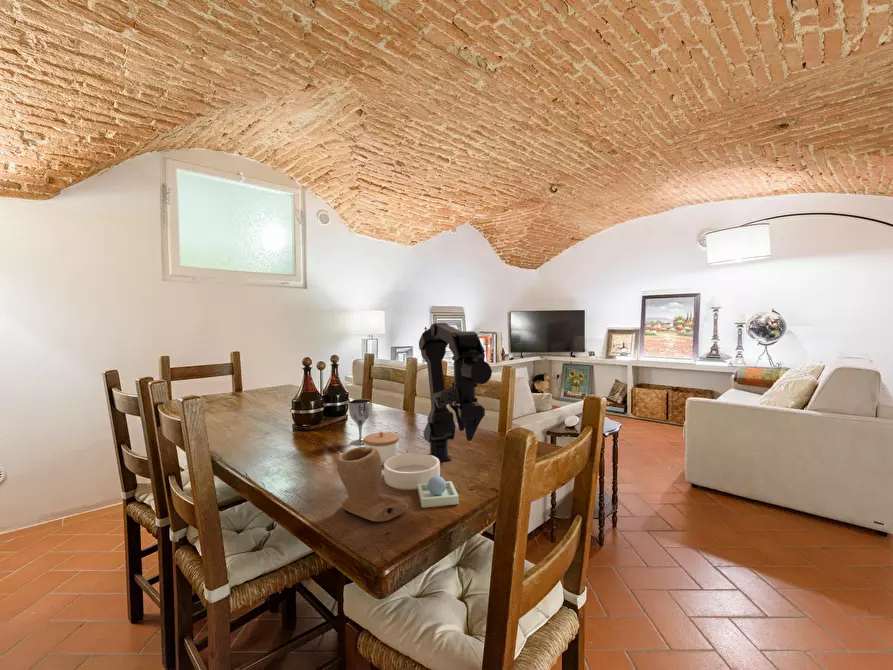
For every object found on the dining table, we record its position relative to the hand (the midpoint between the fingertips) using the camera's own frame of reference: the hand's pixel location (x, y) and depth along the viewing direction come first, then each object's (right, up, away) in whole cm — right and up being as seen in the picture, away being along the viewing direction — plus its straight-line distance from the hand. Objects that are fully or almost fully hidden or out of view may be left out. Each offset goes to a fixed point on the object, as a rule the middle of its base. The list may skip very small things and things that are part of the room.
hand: (465, 435), depth 112 cm
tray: (-7, -14, -8) cm, 18 cm away
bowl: (-15, -13, +4) cm, 20 cm away
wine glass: (-36, -12, +37) cm, 53 cm away
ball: (-7, -11, -8) cm, 15 cm away
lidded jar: (-25, -13, +17) cm, 33 cm away
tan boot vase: (-23, -14, -16) cm, 32 cm away
